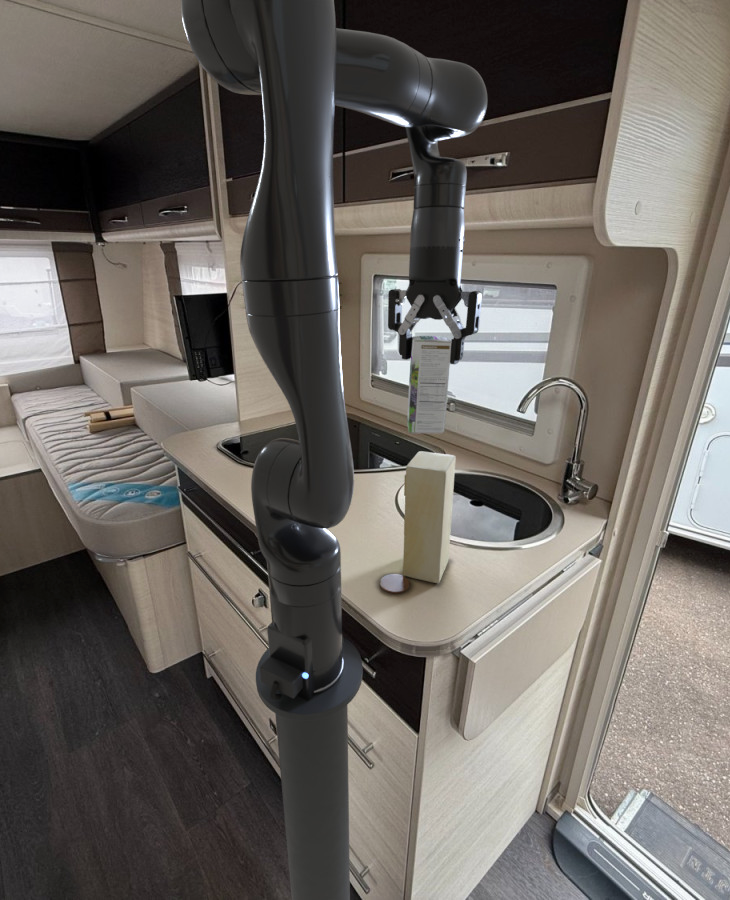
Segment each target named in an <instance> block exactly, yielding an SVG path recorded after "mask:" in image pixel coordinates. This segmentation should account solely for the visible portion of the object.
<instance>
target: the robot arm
mask: <svg viewBox="0 0 730 900" xmlns="http://www.w3.org/2000/svg"><path fill="white" fill-rule="evenodd" d="M180 8H181V9H180V10H181V11H180V12H181V20H182V24H183V28H184V32H185V35H186V39H187V42H188V44H189V47H190V48H191V50H192V53H193V55H194V57H195V59H196V60H197V61H198V63H199V64H200V66H201V68H202V69H203V70H204V71H205V73H207V75H208V76H209V77H210V78H211V79H212V80H213V81H215V83H217V84H219V85H220V86H221V87H223V88H224V89H226V90H228V91H229V92H232V93H234V94H240V95H247V96H261V98H262V99H261V101H262V114H263V115H262V117H263V150H262V151H263V153H262V160H261V161H262V162H261V167H260V172H259V176H258V180H257V185H256V189H255V192H254V195H253V199H252V202H251V205H250V208H249V213H248V216H247V220H246V223H245V227H244V232H243V236H242V242H241V247H240V255H239V256H240V257H239V258H240V259H239V263H240V278H241V285H242V295H243V301H244V309H245V316H246V323H247V326H248V331H249V334H250V337H251V340H252V341H253V344H254V346H255V347H256V349H257V351H258V354H259V355H260V357H261V359H262V361H263V362H264V364H265V366H266V367H267V369H268V371H269V372H270V374H271V376H272V377H273V379H274V380H275V382H276V383H277V386H278V387H279V389H280V390H281V392H282V394H283V396H284V397H285V399H286V402H287V403H288V405H289V408H290V411H291V413H292V416H293V420H294V423H295V426H296V431H297V437H298V440H297V439H293V438H287V437H285V438H284V437H279V438H275V439H272V440H271V441H269V442H268V443H266V444H265V445H264V446H263V447H262V448H261V449H260V451H259V452H258V455H257V457H256V459H255V461H254V464H253V467H252V473H251V480H250V481H251V482H250V491H251V492H250V493H251V503H252V509H253V515H254V523H255V528H256V536H257V542H258V543H257V544H258V547H259V550H260V552H261V554H262V556H263V557H264V559H265V561H266V568H267V578H268V590H269V591H268V592H269V602H270V603H269V605H270V614H271V622H270V623H269V624H268V625H267V627H266V631H267V642H268V648H269V656H270V657H269V658H268V659H267V660H266V661H265V662H264V663H263V664H262V665H261V666H260V674H261V682H262V683H264V684H266V685H268V686H270V687H272V688H271V691H270V697H271V699H272V700H274V701H276V700H281V699H282V695H281V694H276V691H277V690H278V691H280V692H281V693H283V694H285V695H287V696H289V697H291V698H293V699H294V698H295V697H296V695H297V696H299V697H301V698H303V699H305V700H307V701H309V700H310V699H311V698H312V697H313V696H314V695H317V694H320V693H323V692H325V691H327V690H329V689H330V688H332V687H333V686H334V685H335V684H336V683H337V682H338V681H339V679H340V677H341V675H342V673H343V653H342V642H343V643H344V638H345V637H344V635H343V612H342V611H343V610H342V609H343V607H342V606H343V605H342V603H343V602H342V550H341V543H340V542H339V539H338V538H337V537H336V536H335V534H334V533H333V532H331V530H329V529H331V528H335V527H337V526H338V525H339V524H340V523H341V522H342V521H343V520H344V519H345V518H346V516H347V514H348V512H349V511H350V508H351V504H352V502H353V501H352V500H353V497H354V488H355V467H354V459H353V451H352V443H351V438H350V437H351V436H350V431H349V423H348V417H347V410H346V402H345V391H344V381H343V380H344V379H343V369H342V353H341V326H340V325H341V319H340V318H341V316H340V291H339V290H340V289H339V276H338V274H339V271H338V261H337V249H336V246H337V245H336V230H335V229H336V228H335V195H334V137H335V136H334V133H335V131H334V130H335V106H337V107H340V108H343V109H344V108H345V109H348V110H352V111H355V112H359V113H361V114H365V115H368V116H370V117H373V118H375V119H379V120H381V121H384V122H387V123H390V124H392V125H394V126H399V127H402V128H405V134H406V137H407V142H408V147H409V153H410V158H411V165H412V171H413V177H414V182H413V183H414V184H413V186H414V187H413V209H412V210H413V211H412V217H411V226H410V238H409V239H410V241H409V265H408V282H409V283H408V286H407V288H406V289H401V288H394V289H390V290H389V291H388V294H387V297H388V299H387V303H388V304H387V328H388V329H389V330H390V331H394V332H395V333H397V334H398V336H399V338H398V353H399V354H398V355H400V356H401V359H402V360H411V348H412V337H413V334H411V333H412V332H413V329H414V328H415V327H416V326H417V324H418V323H419V322H420V321H421V320H427V319H432V320H437V321H441V320H443V322H444V324H445V325H446V326H447V327H448V329H449V330H450V332H451V334H452V336H453V338H451V340H450V341H451V354H450V365H457V364H459V363H460V361H461V360H463V357H464V349H465V339H466V338H467V337H468V336H472V335H475V334H477V333H478V332H479V329H480V328H479V327H480V321H481V320H480V318H481V309H482V300H483V294H482V293H483V292H481V291H480V290H472V291H463V289H462V286H461V281H462V270H463V257H464V245H465V239H466V237H465V230H466V227H465V225H466V224H465V223H466V222H465V207H466V206H465V205H466V193H467V191H466V190H467V180H468V179H467V178H468V177H467V176H468V173H467V171H468V170H467V166H466V163H464V162H463V161H462V160H460V159H457V158H454V157H447V156H446V157H445V156H441V153H440V151H439V142H440V141H444V140H449V139H450V140H451V139H455V138H461V137H462V138H463V137H464V136H468V135H470V134H472V133H473V132H475V131H476V130H477V129H478V127H479V126H480V125H481V124H482V122H483V120H484V118H485V115H486V113H487V108H488V91H487V87H486V84H485V82H484V80H483V77H482V76H481V74H480V73H479V72H478V70H476V69H475V68H474V67H472V66H471V65H468V64H467V63H464V62H459V61H456V60H455V61H454V60H449V59H444V58H434V57H429V56H428V57H427V56H425V55H424V54H423V53H421V52H419V51H418V50H416V49H414V48H413V47H411V46H409V45H408V44H406V43H405V42H402V41H400V40H398V39H396V38H394V37H391V36H389V35H384V34H380V33H374V32H369V31H363V30H362V31H361V30H353V29H346V28H345V29H344V28H337V19H336V11H335V9H336V8H335V0H180ZM406 299H407V302H408V303H409V305H410V306H411V307H410V308H409V310H408V312H406V315H405V317H404V319H403V315H402V314H403V305H404V304H405V302H406ZM461 301H463V304H464V306H465V307H466V308H467V309H466V310H467V312H466V319H465V320H466V323H465V327H464V325H463V323H462V319H461V317H460V315H459V312H458V311H457V309H456V308H457V306H458V304H459V303H460V302H461ZM402 319H403V320H402Z"/></svg>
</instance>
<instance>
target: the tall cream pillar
mask: <svg viewBox="0 0 730 900" xmlns="http://www.w3.org/2000/svg"><path fill="white" fill-rule="evenodd" d="M456 460H457V458H456V455H454V454H447V453H438V452H430V451H423V450H419V451H418V452H417V453H416V454H415V455H414V456H413V457H412V459H410V461H409V462H408V463H407V465H406V467H405V475H404V483H403V484H404V485H403V486H404V487H403V490H404V491H403V496H404V516H403V558H402V559H403V561H402V576H404V577H407V578H413V579H416V580H420V581H424V582H429V583H432V584H433V583H434V584H440V583H441V579H442V577H443V575H444V572H445V570H446V568H447V566H448V563H449V560H450V559H449V558H450V545H451V532H452V531H451V529H452V516H453V515H452V514H453V501H454V490H455V489H454V487H455V473H456Z"/></svg>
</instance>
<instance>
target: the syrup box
mask: <svg viewBox="0 0 730 900" xmlns="http://www.w3.org/2000/svg"><path fill="white" fill-rule="evenodd" d="M450 354H451V340H450V339H448V338H447V337H445V336H439V335H416V336H415V335H414V336H412V348H411V358H410V362H409V363H410V364H409V365H410V366H409V380H408V395H407V396H408V397H407V398H408V399H407V418H406V421H407V422H406V424H407V432H408V433H409V434H444V433H445V427H446V417H447V404H448V392H449V391H448V390H449V379H450V368H451V364H450Z"/></svg>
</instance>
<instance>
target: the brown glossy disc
mask: <svg viewBox="0 0 730 900" xmlns="http://www.w3.org/2000/svg"><path fill="white" fill-rule="evenodd" d="M379 586H380V588H381V589H382V591H384V592H386V593H389V594H393V595H394V594H395V595H397V594H402V593H405V592H406V591H408V590H409V588H410V581H409V579H408V577H407V576H405V575H403V574H400V573H388V574H386V575H383V576H382V577H381V578H380V580H379Z"/></svg>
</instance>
